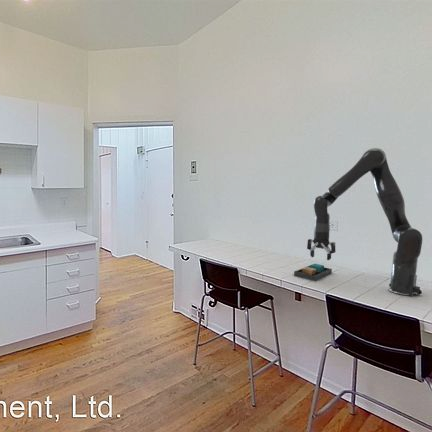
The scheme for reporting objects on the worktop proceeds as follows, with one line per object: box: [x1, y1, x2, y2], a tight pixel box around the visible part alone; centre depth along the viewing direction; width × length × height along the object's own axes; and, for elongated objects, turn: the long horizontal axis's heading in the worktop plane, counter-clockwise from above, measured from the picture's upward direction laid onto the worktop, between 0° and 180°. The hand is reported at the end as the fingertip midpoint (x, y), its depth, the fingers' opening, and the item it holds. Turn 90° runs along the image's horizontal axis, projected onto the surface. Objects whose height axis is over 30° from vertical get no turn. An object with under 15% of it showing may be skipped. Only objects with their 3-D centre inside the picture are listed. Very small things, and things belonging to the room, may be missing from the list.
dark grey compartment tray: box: [293, 264, 333, 282], centre depth 179 cm, size 12×22×3 cm, turn 127°
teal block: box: [309, 263, 325, 272], centre depth 183 cm, size 6×6×4 cm
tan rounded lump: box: [301, 266, 316, 276], centre depth 176 cm, size 6×6×4 cm
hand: (320, 258), depth 172 cm, fingers open, 8 cm apart
